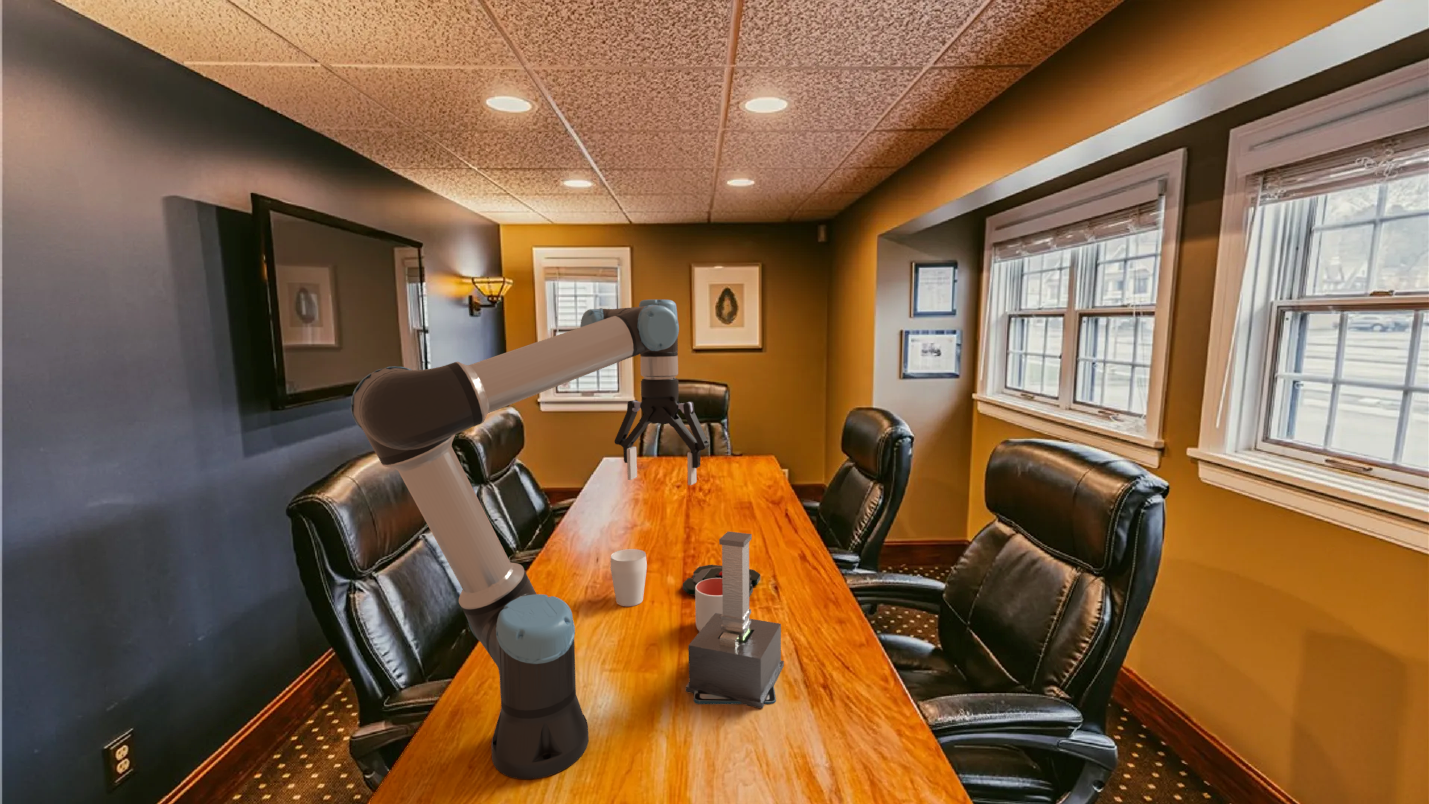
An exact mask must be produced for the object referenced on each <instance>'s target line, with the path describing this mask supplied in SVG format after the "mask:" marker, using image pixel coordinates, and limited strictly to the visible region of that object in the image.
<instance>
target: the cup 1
mask: <svg viewBox="0 0 1429 804" xmlns="http://www.w3.org/2000/svg"><path fill="white" fill-rule="evenodd" d="M647 568H648V564H647V554H646V552H645V551H644V550H642V549H637V548H625V549H621V550H617V551H614V552H613V553H611V555H610V572H611V573H610V574H611V578H612V579H611V580H612V583H613V584H612V586H613V590H614V595H615V601H616V604H617V605H620V606H621V607H634V606H635V607H636V606H637V605H640V604H641V603H642V602H643V600H644V593H645V585H646V577H647Z"/></svg>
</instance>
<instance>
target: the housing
mask: <svg viewBox="0 0 1429 804" xmlns="http://www.w3.org/2000/svg"><path fill="white" fill-rule="evenodd" d="M721 615H722V614H718V613H715V614H714V615H713V616H712V618H711V619H710V620H709V621H708V622H707V624H706V625H705V626H704V627H703V628H702V630H701V631H698V633H697V634H696V636H695V637H694V638H693V639H692V640H691V641H690V643H689V644H688V645H687V646H688V683H687V684H686V685H685V692H686V693H688V694H689V693H690V694H694V690H695V691H699V692H703V693H707V694H711V695H716V696H720V697H724V698H728V699H732V700H736V701H741V704H740V705H744V706H748V707H749V706H750V707H754V708H758V709H764V707H765V705H766V704H765V701H766V699H767V697H768V695H769V693H770V691H771V689H772V687H773V685H774V686H775V684H776V683H777V680H778V678H779V676H780V675H781V672H782V671H783V669H784V666H785V661H784V660H782V653H781V652H782V648H781V647H782V628H781V627H782V624H781V623H779V622H773V621H767V620H766V621H765V620H759V619H754V618H750V619H751V624H750V625H749V629H751V634H750V635H749V639H748V641H747V642H746V644H745V643H740V642H739V635H736V634H730V633H723V630H721V625H722V624H723V620H721Z"/></svg>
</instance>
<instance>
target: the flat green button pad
mask: <svg viewBox="0 0 1429 804" xmlns="http://www.w3.org/2000/svg"><path fill="white" fill-rule="evenodd" d="M692 573H693V574H692V577H688V578H687V579H685V580H684V582H682V590H683V591H684V592H685V593H687V594H688V595H693V596H695V586H696V585H697V584H698V583H699V582H701V581H703V580H706V579H711V578H722V565H719V564H718V565H717V564H706V565H701V566H698V567H697V568H696V569H695V570H694V571H693V572H692ZM760 581H761V573H759V572H757V570H754V569H753V568H752V569H750V568H749V598H750V596H752V594H753V592H754V586H757V585H758V584H759V583H760Z"/></svg>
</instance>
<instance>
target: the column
mask: <svg viewBox="0 0 1429 804" xmlns="http://www.w3.org/2000/svg"><path fill="white" fill-rule="evenodd" d="M751 540H752V533H746V532H745V533H744V532H737V531H736V532H735V531H726V532H725V533H724V534H723V535H722V536H721V537H720V538H719V539H718V541H719V542H718V543H719V544H718V545H720V546H721V563H722V565H721V566H722V590H723V614H722V615H721V620H723V624H722V625H721V630H723V633H730V634H736V635H739V642H740V643H745V644H746V642H747V641H748V639H749V635H750V634H751V629H749V625H750V624H751V619H752V618H750V615H751V614H752V609H751V608H750V597H749V569H750V542H751Z"/></svg>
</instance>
